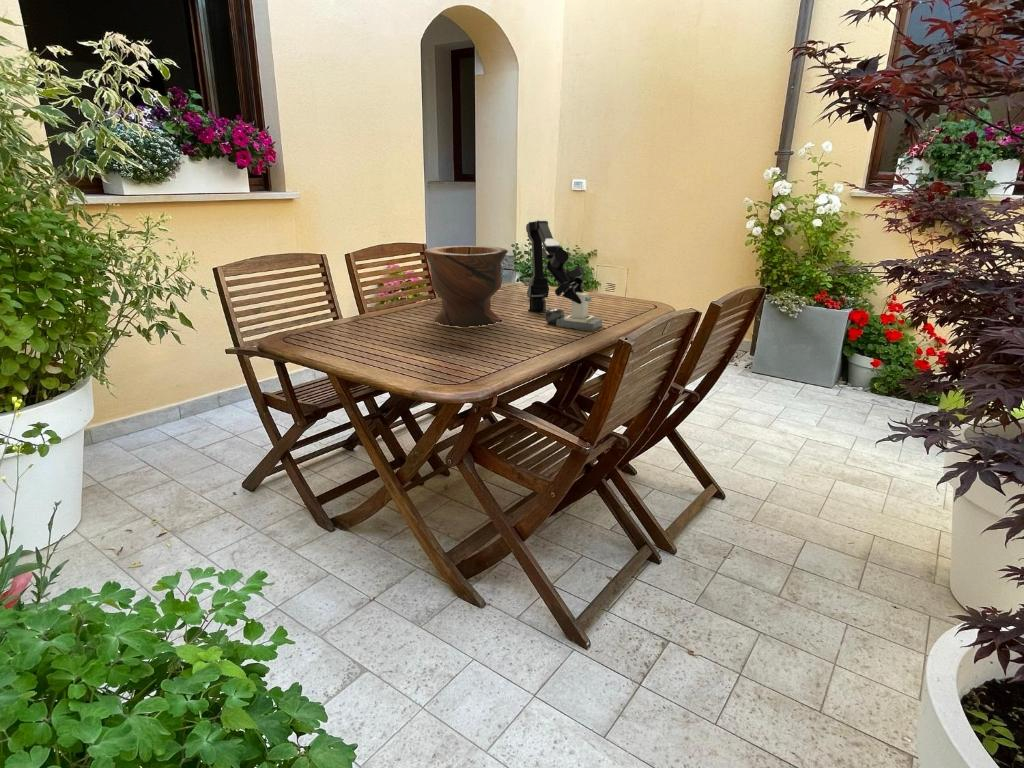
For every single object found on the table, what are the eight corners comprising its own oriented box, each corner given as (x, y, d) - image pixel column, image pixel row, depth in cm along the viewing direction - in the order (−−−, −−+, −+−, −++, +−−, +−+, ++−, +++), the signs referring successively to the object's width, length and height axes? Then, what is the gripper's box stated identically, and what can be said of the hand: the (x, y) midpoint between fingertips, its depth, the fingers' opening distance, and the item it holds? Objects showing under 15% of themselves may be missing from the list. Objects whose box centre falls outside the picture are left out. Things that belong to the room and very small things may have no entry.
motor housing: (543, 325, 252) (543, 310, 250) (553, 320, 260) (553, 306, 258) (593, 331, 242) (593, 316, 240) (601, 326, 251) (602, 311, 249)
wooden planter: (494, 309, 281) (493, 244, 271) (518, 326, 249) (519, 254, 240) (419, 314, 270) (416, 247, 261) (435, 333, 239) (432, 257, 229)
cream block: (571, 318, 248) (572, 293, 245) (576, 315, 252) (577, 291, 249) (587, 320, 245) (588, 295, 242) (592, 317, 249) (593, 293, 246)
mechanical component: (542, 298, 303) (542, 278, 300) (521, 298, 304) (522, 278, 300) (542, 297, 306) (542, 277, 303) (521, 297, 306) (522, 277, 303)
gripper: (563, 262, 235) (588, 293, 234) (581, 256, 251) (605, 285, 249) (544, 280, 241) (568, 311, 240) (563, 274, 257) (586, 302, 256)
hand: (583, 302), depth 246 cm, fingers closed on cream block, 5 cm apart
